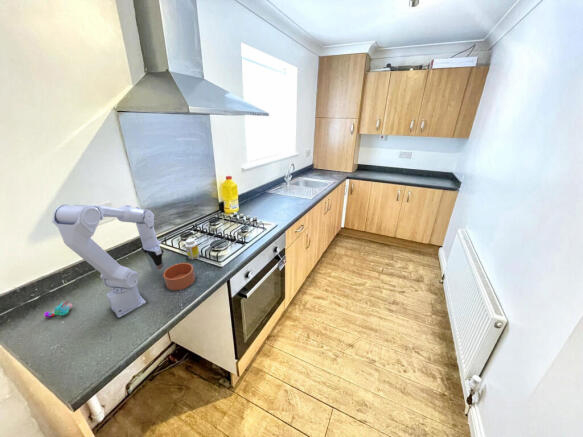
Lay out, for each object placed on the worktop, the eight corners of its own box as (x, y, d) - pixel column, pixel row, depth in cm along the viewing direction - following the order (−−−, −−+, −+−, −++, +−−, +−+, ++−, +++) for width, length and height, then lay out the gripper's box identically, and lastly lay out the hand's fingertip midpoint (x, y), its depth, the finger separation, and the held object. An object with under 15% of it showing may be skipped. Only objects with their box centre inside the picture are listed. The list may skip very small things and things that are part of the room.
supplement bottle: (200, 253, 123) (197, 237, 119) (198, 259, 118) (194, 242, 114) (190, 254, 123) (186, 237, 119) (186, 260, 118) (182, 243, 114)
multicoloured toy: (54, 296, 88) (37, 308, 82) (76, 295, 89) (61, 307, 82) (58, 308, 90) (41, 320, 83) (80, 307, 90) (65, 319, 84)
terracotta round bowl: (174, 295, 95) (171, 283, 93) (161, 283, 102) (158, 272, 100) (200, 280, 104) (198, 269, 101) (186, 270, 110) (184, 259, 108)
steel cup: (154, 271, 101) (149, 256, 98) (149, 267, 104) (144, 252, 101) (165, 266, 105) (161, 251, 102) (160, 262, 108) (156, 247, 104)
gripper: (165, 237, 97) (172, 264, 102) (150, 227, 105) (158, 253, 111) (147, 244, 92) (156, 272, 97) (133, 233, 100) (142, 259, 106)
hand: (156, 262), depth 104 cm, fingers closed on steel cup, 5 cm apart
